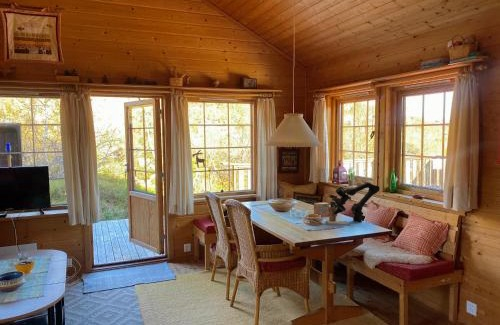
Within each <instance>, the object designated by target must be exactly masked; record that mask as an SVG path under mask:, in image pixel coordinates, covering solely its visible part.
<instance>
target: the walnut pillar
mask: <svg viewBox="0 0 500 325" xmlns="http://www.w3.org/2000/svg"><path fill="white" fill-rule="evenodd" d="M335 211H336V208H334V207H330V215H329V216H328V218H329V219H328V220H329V221H335V222H336V220H337V216H336V214H335V215H334V213H335Z"/></svg>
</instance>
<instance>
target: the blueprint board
mask: <svg viewBox="0 0 500 325" xmlns="http://www.w3.org/2000/svg"><path fill="white" fill-rule="evenodd" d="M325 223H326V224H327V226H350V223H349V222H347V221H346V220H337V219H336V222H335V221H329V219H326V220H325Z"/></svg>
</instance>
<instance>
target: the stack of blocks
mask: <svg viewBox="0 0 500 325" xmlns="http://www.w3.org/2000/svg"><path fill="white" fill-rule="evenodd" d="M330 207H331V205H330V204H329V203H328V202H325V201H324V202H313V215H314V214H318V215H321V216H323V217H325V218H326V217H329V215H330V212H329V209H330ZM336 210H337V208H336ZM337 216H338V214H336V217H337ZM323 217H322V218H323Z"/></svg>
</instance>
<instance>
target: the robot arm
mask: <svg viewBox="0 0 500 325" xmlns="http://www.w3.org/2000/svg"><path fill="white" fill-rule="evenodd" d="M365 189H368V191H367V192H366V194H365V195H364V196H363V197H362V198H361V199H360V201H359V202H358V203H353V204H352V206H351V208H350V209H351V210H350V211H351V212H352V214H353V215H352V221H353V222H355V223H363V221H362V218H363V217H362V216H363V215H364V212H363V211H362V210H363V207H364V206H365V204H367V203H368V201H369V200H370V199H371V198H372V196H373V195H375V194H378V192H380V186H379V185H377V184H373V183H371V182H367V181H366V182H364V183H361V184H358V185H357V186H354V187H348V188H346V189H344V188H343V187H342V186H340V187H338V188H336V189H335V193H336V194H337V195H338V197H334V196H332V198H331V200H330V201H329V203H330V204H329V205H331V207H334V208H337V210H336V211H335V213H334V215H335V214H337V215H338V214H341V213H343V212H345V211H346V210H347V208H346V207H345V205H346V202H347V201H348V200H349V201H351V200H352V196H353V197H354V196H355V195H356V194H357V193H358V192H361V191H363V190H365ZM339 197H340V198H339ZM329 212H330V209H329Z"/></svg>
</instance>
